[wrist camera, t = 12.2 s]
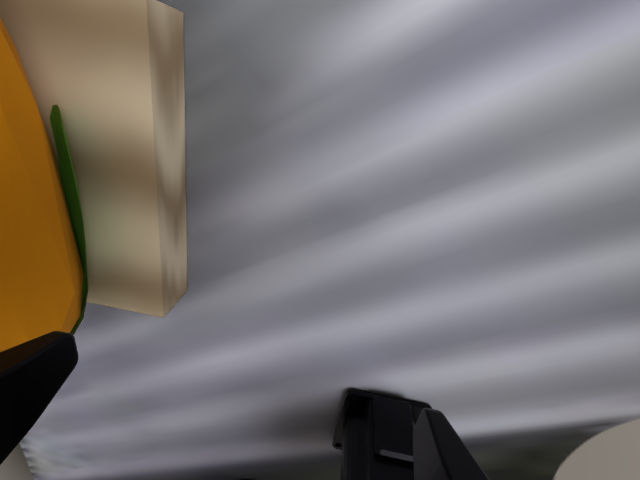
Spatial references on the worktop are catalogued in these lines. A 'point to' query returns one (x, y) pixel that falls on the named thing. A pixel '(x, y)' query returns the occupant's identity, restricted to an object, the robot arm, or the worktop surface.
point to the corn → (36, 215)
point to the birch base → (116, 135)
